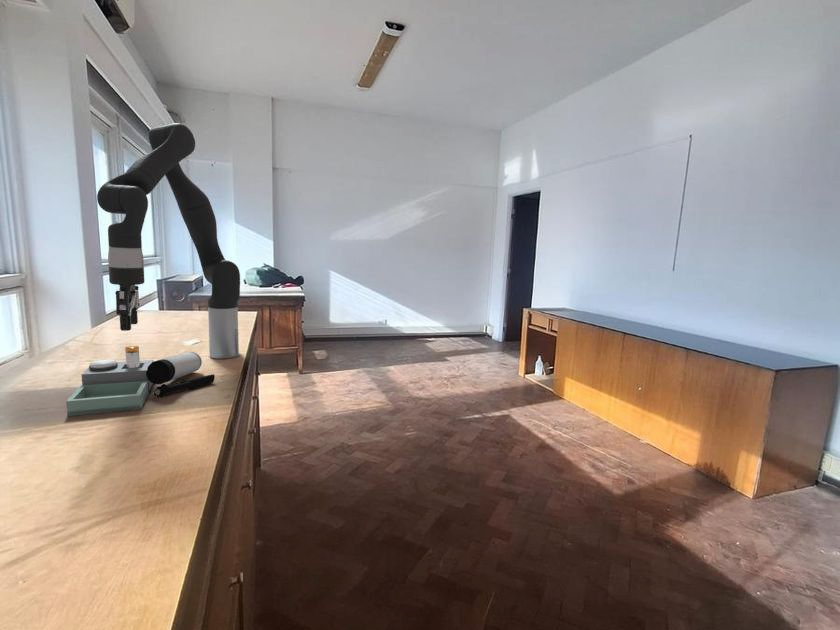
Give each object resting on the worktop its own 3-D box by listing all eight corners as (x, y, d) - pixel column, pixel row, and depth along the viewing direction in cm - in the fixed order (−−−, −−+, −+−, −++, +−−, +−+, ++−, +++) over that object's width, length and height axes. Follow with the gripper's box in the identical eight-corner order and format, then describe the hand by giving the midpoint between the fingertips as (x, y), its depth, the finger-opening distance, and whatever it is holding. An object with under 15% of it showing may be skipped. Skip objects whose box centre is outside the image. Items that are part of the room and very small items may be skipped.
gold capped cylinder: (142, 385, 118) (139, 345, 116) (140, 388, 115) (137, 348, 113) (129, 386, 117) (126, 346, 115) (126, 389, 114) (124, 348, 112)
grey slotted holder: (154, 380, 122) (153, 355, 121) (148, 392, 113) (147, 365, 112) (94, 384, 116) (92, 358, 115) (83, 397, 107) (80, 369, 106)
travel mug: (196, 376, 131) (162, 390, 111) (176, 365, 130) (139, 377, 110) (206, 358, 131) (174, 368, 111) (187, 347, 130) (151, 356, 110)
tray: (148, 393, 112) (147, 380, 111) (140, 409, 102) (140, 395, 102) (82, 398, 106) (81, 385, 106) (67, 416, 96) (66, 401, 96)
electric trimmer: (217, 385, 122) (217, 375, 121) (159, 399, 109) (158, 387, 109) (210, 382, 124) (210, 372, 124) (152, 396, 112) (152, 384, 111)
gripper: (138, 268, 106) (141, 332, 108) (148, 264, 118) (150, 321, 121) (101, 266, 102) (105, 333, 105) (115, 263, 115) (118, 322, 118)
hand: (129, 327), depth 113 cm, fingers open, 8 cm apart
